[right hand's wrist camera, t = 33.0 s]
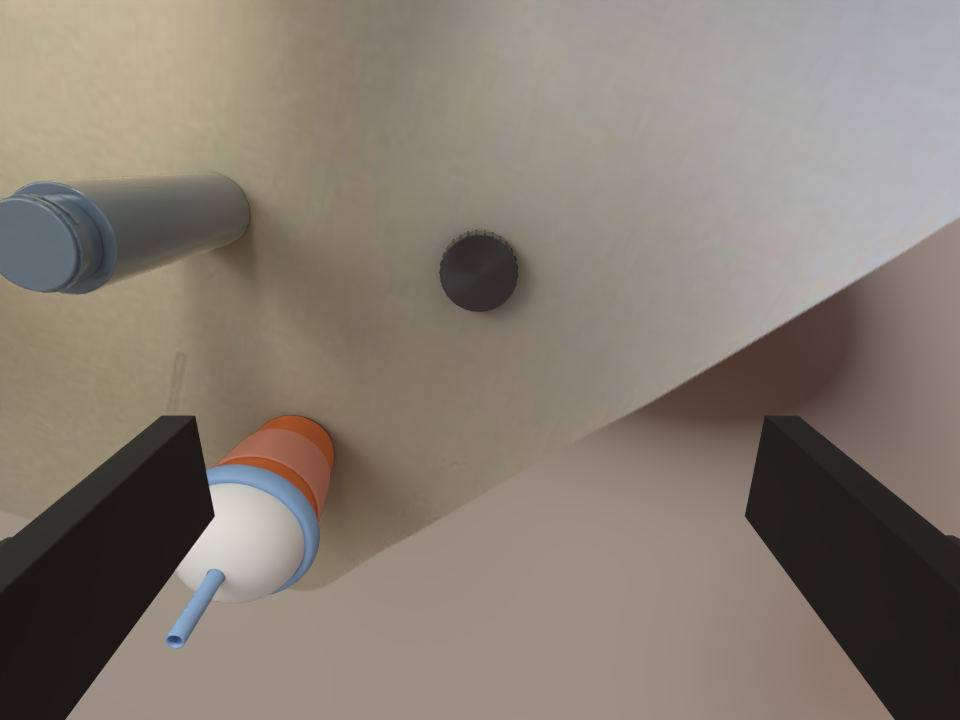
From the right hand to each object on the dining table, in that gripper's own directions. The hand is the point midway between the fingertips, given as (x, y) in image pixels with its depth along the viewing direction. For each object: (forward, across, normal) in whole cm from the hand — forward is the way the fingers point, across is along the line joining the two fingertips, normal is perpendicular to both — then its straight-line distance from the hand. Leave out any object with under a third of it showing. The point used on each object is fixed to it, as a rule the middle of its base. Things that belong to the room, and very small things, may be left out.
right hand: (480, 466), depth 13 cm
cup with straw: (+27, +14, +15) cm, 34 cm away
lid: (+25, 0, 0) cm, 25 cm away
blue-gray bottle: (+27, +18, -4) cm, 32 cm away
